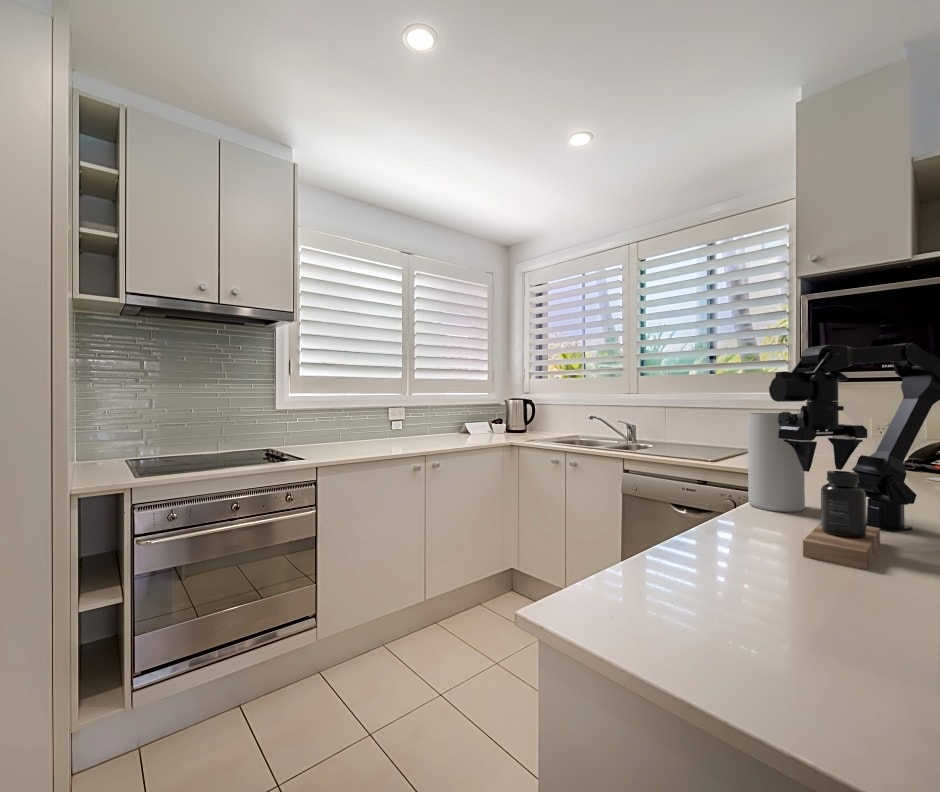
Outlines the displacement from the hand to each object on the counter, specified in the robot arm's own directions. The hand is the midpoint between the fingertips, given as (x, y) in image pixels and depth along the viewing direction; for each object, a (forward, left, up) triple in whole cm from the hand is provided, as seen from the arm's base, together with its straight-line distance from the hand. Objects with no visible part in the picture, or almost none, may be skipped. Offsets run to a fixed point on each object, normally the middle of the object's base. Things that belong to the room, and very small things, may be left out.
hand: (822, 470), depth 102 cm
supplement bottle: (+10, +12, -10) cm, 18 cm away
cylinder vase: (-7, -18, -13) cm, 23 cm away
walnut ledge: (+10, +12, -13) cm, 20 cm away
